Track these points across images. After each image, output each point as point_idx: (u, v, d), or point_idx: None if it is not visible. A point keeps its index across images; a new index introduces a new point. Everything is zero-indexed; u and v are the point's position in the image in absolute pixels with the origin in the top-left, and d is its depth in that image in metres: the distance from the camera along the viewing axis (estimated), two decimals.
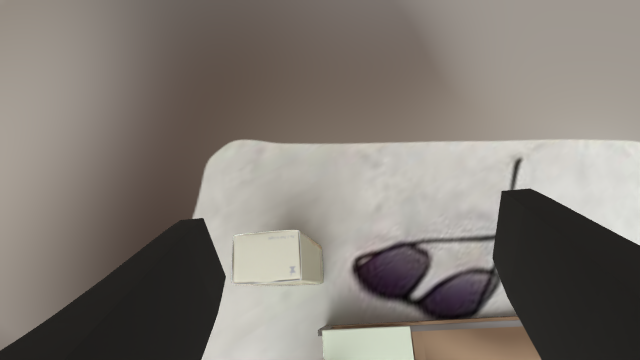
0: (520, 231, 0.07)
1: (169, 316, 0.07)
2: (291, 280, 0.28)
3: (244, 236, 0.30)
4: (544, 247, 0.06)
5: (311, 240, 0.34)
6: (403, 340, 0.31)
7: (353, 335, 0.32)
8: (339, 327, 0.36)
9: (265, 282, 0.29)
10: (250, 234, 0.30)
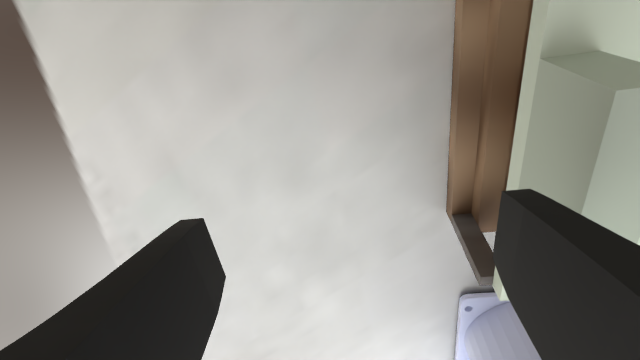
0: (520, 231, 0.07)
1: (169, 317, 0.07)
2: None
3: None
4: (544, 247, 0.06)
5: None
6: None
7: None
8: None
9: None
10: None
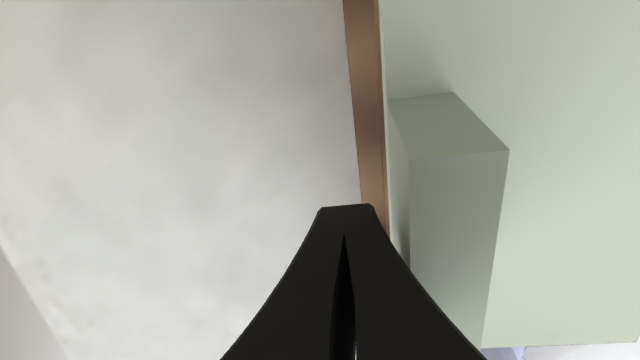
0: None
1: (346, 306, 0.07)
2: None
3: None
4: (348, 261, 0.07)
5: None
6: None
7: None
8: None
9: None
10: None
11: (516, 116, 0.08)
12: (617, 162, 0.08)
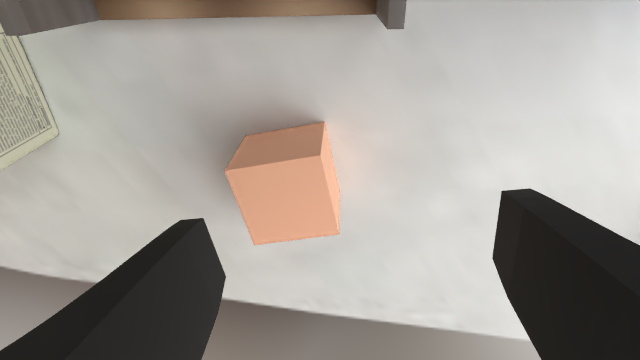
0: (520, 231, 0.07)
1: (169, 316, 0.07)
2: None
3: None
4: (544, 247, 0.06)
5: None
6: None
7: None
8: None
9: None
10: None
11: None
12: None
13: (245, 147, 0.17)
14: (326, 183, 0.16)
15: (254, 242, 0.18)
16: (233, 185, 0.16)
